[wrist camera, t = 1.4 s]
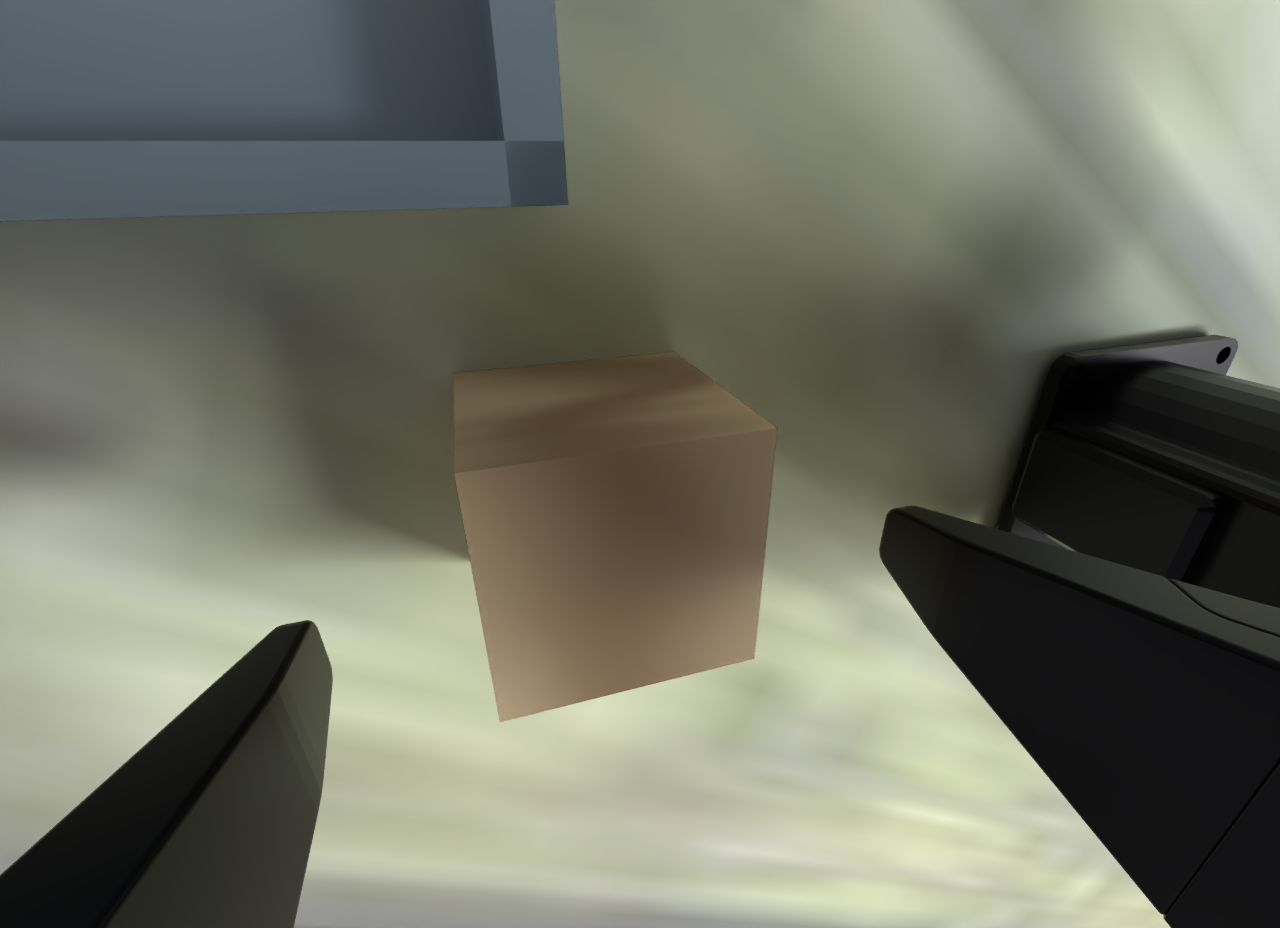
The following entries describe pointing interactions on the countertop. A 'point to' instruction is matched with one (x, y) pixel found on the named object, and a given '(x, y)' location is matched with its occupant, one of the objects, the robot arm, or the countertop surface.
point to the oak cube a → (610, 524)
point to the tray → (277, 107)
